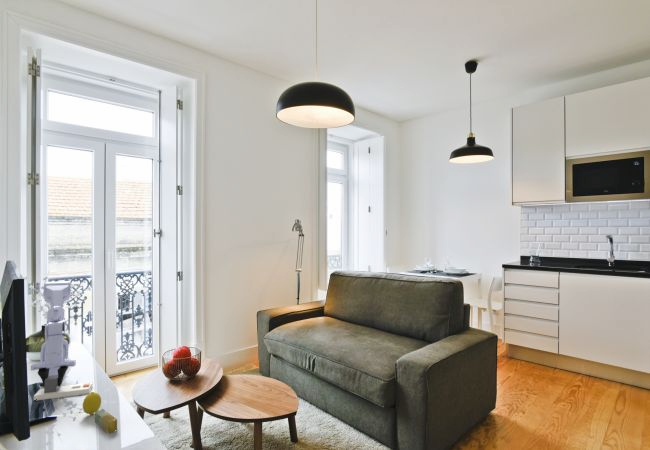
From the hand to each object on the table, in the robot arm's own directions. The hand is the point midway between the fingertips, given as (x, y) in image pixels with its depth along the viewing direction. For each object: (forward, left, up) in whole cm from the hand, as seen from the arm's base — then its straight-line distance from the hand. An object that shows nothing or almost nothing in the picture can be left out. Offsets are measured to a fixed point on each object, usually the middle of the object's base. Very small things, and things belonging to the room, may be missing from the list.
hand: (52, 386), depth 143 cm
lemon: (+23, +19, -4) cm, 30 cm away
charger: (0, 0, -3) cm, 3 cm away
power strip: (0, +4, -4) cm, 6 cm away
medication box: (+34, +26, -4) cm, 43 cm away
